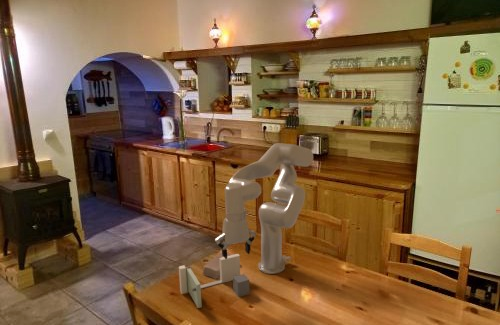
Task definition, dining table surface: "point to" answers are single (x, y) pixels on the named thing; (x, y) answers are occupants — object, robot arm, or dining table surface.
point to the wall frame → (227, 272)
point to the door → (193, 287)
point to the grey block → (241, 285)
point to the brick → (214, 267)
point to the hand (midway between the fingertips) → (236, 254)
